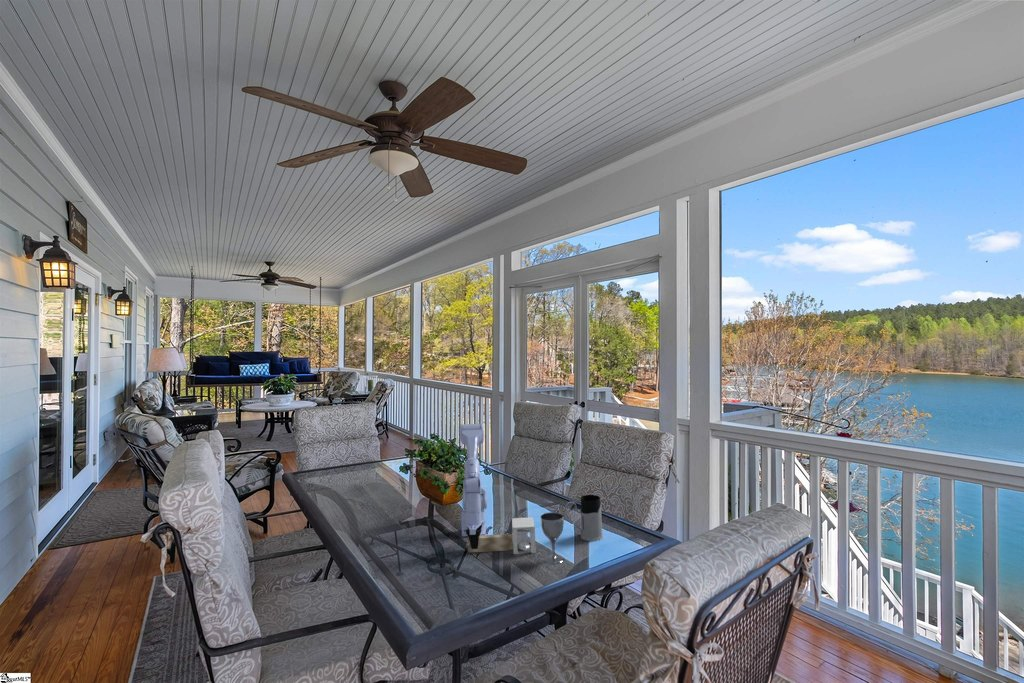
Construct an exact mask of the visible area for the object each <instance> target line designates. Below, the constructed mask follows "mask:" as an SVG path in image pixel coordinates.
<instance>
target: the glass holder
mask: <svg viewBox="0 0 1024 683" xmlns="http://www.w3.org/2000/svg"><path fill="white" fill-rule="evenodd" d="M569 504H573V505H575V511H576V513H577V514H580V521H581V525H580V526H581V528H580V526H578V525H577V524H576V523H574V521H572V520H571V518H570V516H569V515H568V510H567V509H568V508H567V507H568V505H569ZM580 509H581V510H580V511H578V507H577V504H576V502H574V501H569V502H567V503H566V504H565V513H566V517H567V519H568V520H569V522H570V523H571V524H573V526H575V527H576V528H577V529H578V530H580V533H581V534H580V538H581V539H582V540H584V541H587V542H598V541H597V540H599V541H601V540H600V539H601V538H603V536H604V534H603V523H602V521H603V520H602V519H603V518H602V504H601V497H600V496H599V495H595V494H584V495H582V496H580ZM603 539H604V538H603Z"/></svg>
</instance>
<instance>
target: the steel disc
mask: <svg viewBox="0 0 1024 683" xmlns="http://www.w3.org/2000/svg"><path fill="white" fill-rule="evenodd" d="M517 547H518V550H519V551H522V552H525V551H526V552H527V551H529V550H530V549H531V544H530V543H529V542H519V543H518V544H517Z"/></svg>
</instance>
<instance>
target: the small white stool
mask: <svg viewBox="0 0 1024 683" xmlns="http://www.w3.org/2000/svg"><path fill="white" fill-rule="evenodd" d="M511 519H512V520H511V521H512V523H511V524H512V525H511V526H512V527H511V528H512V542H513V550H512V551H513V555H518V553H519V552H518V550H519V549H518V534H525V533H526V534H527V533H529V542H530V543H529V544H530V549H531V550H530V551H531V554H536V553H537V552H536V548H537V547H536V533H535V532H536V530H535V528H536V527H535V521H534V517H513V518H511Z"/></svg>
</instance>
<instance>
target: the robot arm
mask: <svg viewBox="0 0 1024 683" xmlns="http://www.w3.org/2000/svg"><path fill="white" fill-rule="evenodd" d="M459 438H460V442H461V444H462V445H463V446H466V455H467V458H466V460H465V461H464V479H463V480H462V481H463V482H462V484H463V486H462V487H463V489H462V490H463V491H462V500H461V501H462V510H461V512H460V513H461V516H460V519H461V520H460V522H461V526H460V528H461V537H467V538H468V537H469V540H470V544H471V548H472V549H477V548H478V541H479V536H480V535H487V534H486V533H487V532H486V531H487V527H486V526H485V523H486V522H485V521H486V520H485V510H486V509H487V507H488V502H487V501H488V500H487V498H488V497H487V490H486V488H484V487H483V486H482V479H481V473H480V469H481V468H480V461H479V447H480V445H481V444H483V443H484V439H485V430H484V423H482V422H481V423H465V424H464V423H461V424H460V425H459Z"/></svg>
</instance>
